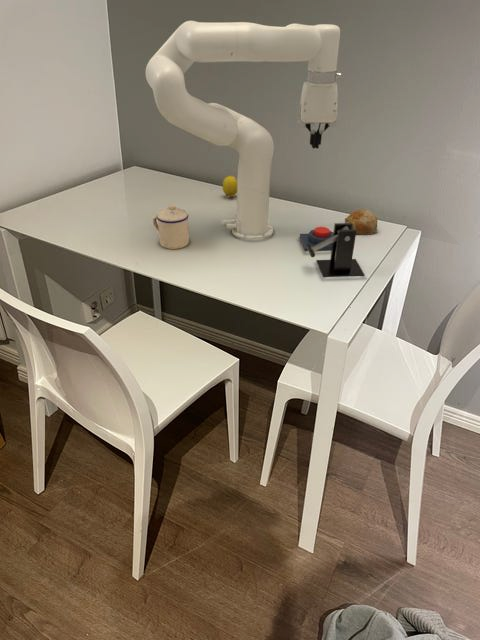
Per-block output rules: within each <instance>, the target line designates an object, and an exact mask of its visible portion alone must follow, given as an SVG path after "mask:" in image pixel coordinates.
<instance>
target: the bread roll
mask: <svg viewBox="0 0 480 640" xmlns="http://www.w3.org/2000/svg"><path fill="white" fill-rule="evenodd" d="M344 223H351V224H352V229H351V230H356V236H363V235H364V236H371V235H374V234H376V233H378V229H377V228H378V218H377V216H376V214H374V212H373V211H370V210H369V209H358V210H355V211H353V212H351V213H349V215H347V216H346V217H345V218H344Z"/></svg>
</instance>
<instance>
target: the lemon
mask: <svg viewBox="0 0 480 640" xmlns="http://www.w3.org/2000/svg"><path fill="white" fill-rule="evenodd" d="M222 191H223V193H224V194H225V195H226V196H228V197H229V198H233V196H234V197H235V195H237V177H235V176H233V175H231V174H230V175H228V176H226V177H225V178H224V179H223V181H222Z"/></svg>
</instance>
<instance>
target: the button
mask: <svg viewBox="0 0 480 640" xmlns="http://www.w3.org/2000/svg"><path fill="white" fill-rule="evenodd" d="M313 230H314V236H316V237H319V238H327V237H329V234H330V231H331V230H330V229H329V228H328V227H326V226H317V227H315V228H314V229H313Z"/></svg>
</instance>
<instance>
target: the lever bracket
mask: <svg viewBox="0 0 480 640" xmlns="http://www.w3.org/2000/svg"><path fill="white" fill-rule="evenodd" d="M345 226H347V227H348V228H349V230H339V229H341V228H343V227H345ZM351 229H352V224H351V223H345V222H344V223H343V222H342V223H341V222H339V223H337V222H336V223H334V227H333V236H335V235H337V234H338V237H337V241H335V242H333V243H332V249H331V251H330V257H329V259H316V260H315V261H316V264H317V266H318V269H319V271H320V274H321V276H322V278H342V277H345V278H346V277H365V273H364V271H363V270H362V267H361V265H360V264H359V262H358V261H357V259H356V258H353V255H354V249H355V243H356V236H357V234H356V230H351ZM337 230H338V232H337Z"/></svg>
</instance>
